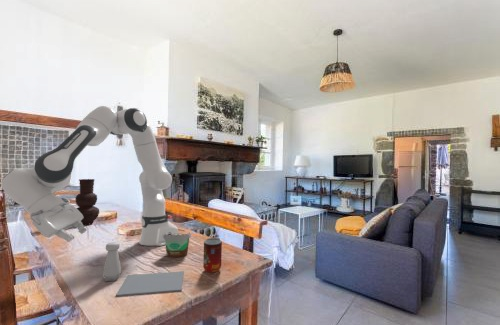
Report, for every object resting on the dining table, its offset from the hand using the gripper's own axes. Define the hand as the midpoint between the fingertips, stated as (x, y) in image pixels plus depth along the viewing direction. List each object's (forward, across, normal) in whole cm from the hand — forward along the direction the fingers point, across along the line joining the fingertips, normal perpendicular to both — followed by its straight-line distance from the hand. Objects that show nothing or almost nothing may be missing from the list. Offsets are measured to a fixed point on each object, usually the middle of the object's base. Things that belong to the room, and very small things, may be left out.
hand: (78, 235), depth 87 cm
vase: (-11, +88, +34) cm, 95 cm away
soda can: (+45, +1, -22) cm, 50 cm away
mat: (+30, -6, -7) cm, 31 cm away
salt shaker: (+19, 0, +4) cm, 20 cm away
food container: (+34, +18, -12) cm, 41 cm away
